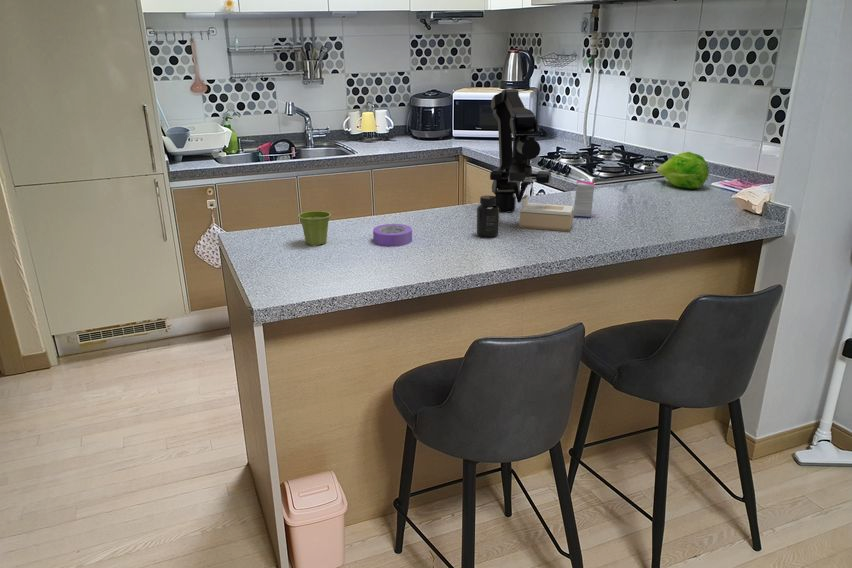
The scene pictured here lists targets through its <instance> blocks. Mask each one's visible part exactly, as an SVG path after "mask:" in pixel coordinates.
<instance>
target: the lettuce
mask: <svg viewBox="0 0 852 568" xmlns="http://www.w3.org/2000/svg"><path fill="white" fill-rule="evenodd" d="M709 171H710V170H709V166H708V163H707V161H706V160H705V158H704V156H702V155H700V154H697V153H693V152H691V151H685V152H681V153H678V154H675V155H673V156H672V157H670V158H669V159H667V160H666V161H665V162H663V163H662V164H660V165H659V166H658V167H656V172H657V173H658V174H660V175H661V176H662V177H664V178H665V179H666V180H667V181H668V182H669V183H670V184H672V185H673V186H675V187H678V188H682V189H687V190H688V189H690V190H694V189H699V188H701V187H703V185H704V184H705V182H706V180H707V179H708V177H709V174H710V173H709Z"/></svg>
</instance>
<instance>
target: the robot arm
mask: <svg viewBox="0 0 852 568" xmlns="http://www.w3.org/2000/svg"><path fill="white" fill-rule="evenodd" d="M519 93H520V92H519V90H518V89H514V88H510V89H509V88H508V89H506V88H505V89H502V90H501V92H498V93H497V94H495V95H494V96H493V97H492V99H491V102H490V108H491V110H492V115H493V117H494V119H495V120H496V122H497V124H498V125H497V128H498V130H497V131H498V150H499V151H498V155H499V166H498V167H496V168H494V169H492V170H491V171H490V172H489V180H491V181H492V184H491V192H492V193H493V194H494V196H495V197H496V204H495V205H497V206H498V207H499V212H502V213H513V211H514V210H516V204H517V203H522V198H523V197H524V195H525V192H526V189H527V188H528V186H529V185H531V184H532V183H533V182H534V180H536V182H537V183H538V184H550V182H551V181H552V172H551V171H547V170H539V171H537V173H533V168H532V165H531V160H533V159H535V158H537V157H538V156H540V154H541V153H540V152H541V146H540V143H539V142H538V141H536V139H535V138H536V137H539V134H540V127H539V122H538V119H537V116H536V115H535V113H534V112H533V111H532V110H531V109H528V108H526V107H525V105H524V103H523V102H522V99H521V97H520V95H519Z"/></svg>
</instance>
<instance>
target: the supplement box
mask: <svg viewBox="0 0 852 568" xmlns="http://www.w3.org/2000/svg"><path fill="white" fill-rule="evenodd" d="M594 182H595V181H584V180H583V181H582V180H577V181H576V188H575V197H574V198H575V199H574V205H573V206H574V208H573V210H574V212H573V218H576V219H578V218H581V219H591V218H592V211H593V202H594V201H593V200H594V194H595V193H594V192H595V183H594Z"/></svg>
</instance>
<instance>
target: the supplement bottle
mask: <svg viewBox="0 0 852 568" xmlns="http://www.w3.org/2000/svg"><path fill="white" fill-rule="evenodd" d="M479 199H480V200H479V201H480V202H479V205H477V208H476V235H477V236H478V237H481V238H486V239H487V238H488V239H489V238H495V237H498V235H499V231H500V229H499V227H500V211H499V207H498V206H497V205H495V204H496V197H495V195H482V196H480V198H479Z"/></svg>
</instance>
